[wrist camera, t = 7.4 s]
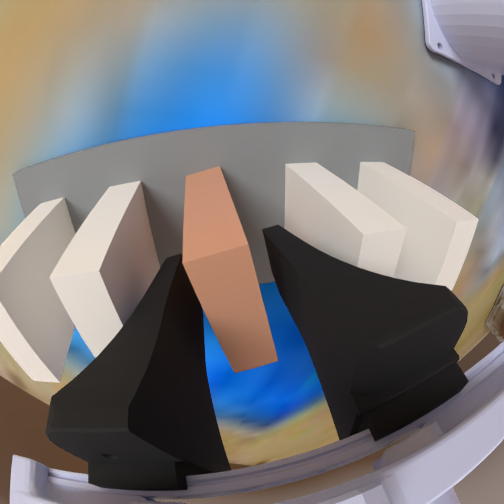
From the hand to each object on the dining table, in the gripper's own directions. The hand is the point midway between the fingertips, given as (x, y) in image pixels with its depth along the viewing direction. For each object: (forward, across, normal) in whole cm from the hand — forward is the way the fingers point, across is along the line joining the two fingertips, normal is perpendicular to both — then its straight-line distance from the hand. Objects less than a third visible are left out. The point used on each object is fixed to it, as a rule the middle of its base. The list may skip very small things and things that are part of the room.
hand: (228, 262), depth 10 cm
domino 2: (+4, +4, -1) cm, 6 cm away
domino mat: (+4, 0, 0) cm, 4 cm away
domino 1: (+4, +8, -2) cm, 9 cm away
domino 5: (+4, -8, +2) cm, 9 cm away
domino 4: (+4, -4, +1) cm, 6 cm away
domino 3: (+4, 0, 0) cm, 4 cm away
